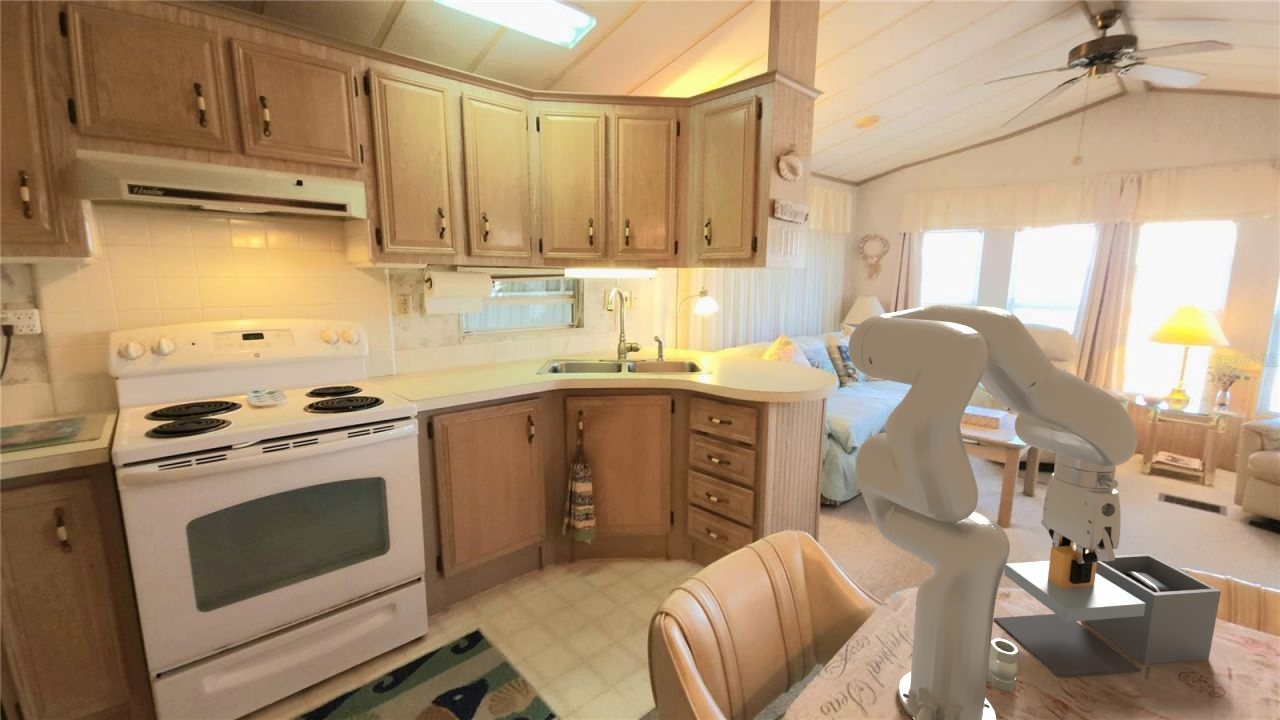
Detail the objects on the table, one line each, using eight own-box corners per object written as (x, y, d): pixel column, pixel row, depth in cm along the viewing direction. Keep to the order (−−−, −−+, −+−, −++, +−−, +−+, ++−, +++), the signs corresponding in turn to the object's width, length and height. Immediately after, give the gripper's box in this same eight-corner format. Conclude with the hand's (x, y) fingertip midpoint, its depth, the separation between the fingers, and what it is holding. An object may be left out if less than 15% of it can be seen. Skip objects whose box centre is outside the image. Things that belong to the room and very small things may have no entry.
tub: (1143, 664, 85) (1154, 595, 83) (1081, 619, 96) (1089, 557, 94) (1208, 659, 86) (1220, 591, 84) (1138, 615, 97) (1148, 553, 95)
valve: (1031, 694, 80) (983, 639, 92) (1035, 656, 79) (987, 606, 91) (987, 693, 80) (945, 639, 92) (991, 655, 79) (948, 605, 91)
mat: (1058, 677, 83) (1058, 675, 83) (993, 619, 97) (994, 618, 97) (1140, 671, 84) (1140, 669, 84) (1064, 615, 98) (1065, 613, 97)
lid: (1066, 622, 82) (1072, 574, 81) (1004, 574, 95) (1008, 533, 93) (1143, 615, 83) (1150, 568, 81) (1071, 569, 96) (1076, 528, 94)
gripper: (1156, 493, 77) (1139, 605, 81) (1062, 455, 93) (1051, 550, 96) (1108, 496, 77) (1094, 608, 80) (1022, 458, 93) (1013, 553, 96)
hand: (1071, 575), depth 88 cm, fingers closed on lid, 2 cm apart
